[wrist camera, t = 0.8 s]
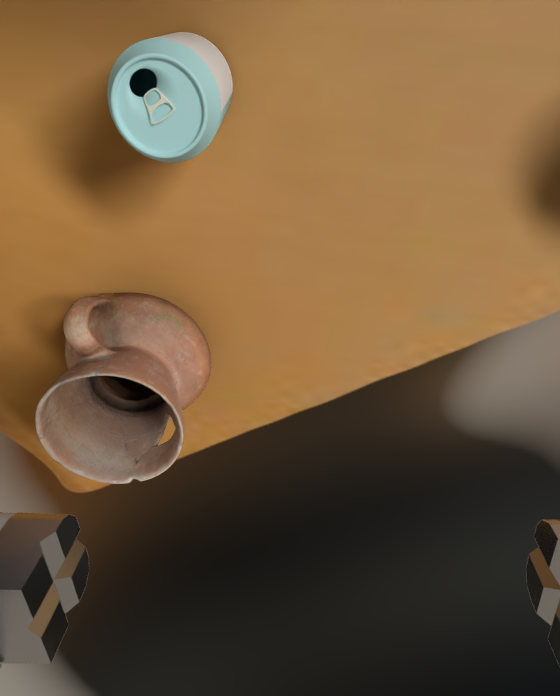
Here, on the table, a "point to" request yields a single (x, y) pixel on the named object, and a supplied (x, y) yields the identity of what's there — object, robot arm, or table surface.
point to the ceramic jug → (123, 387)
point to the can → (170, 95)
